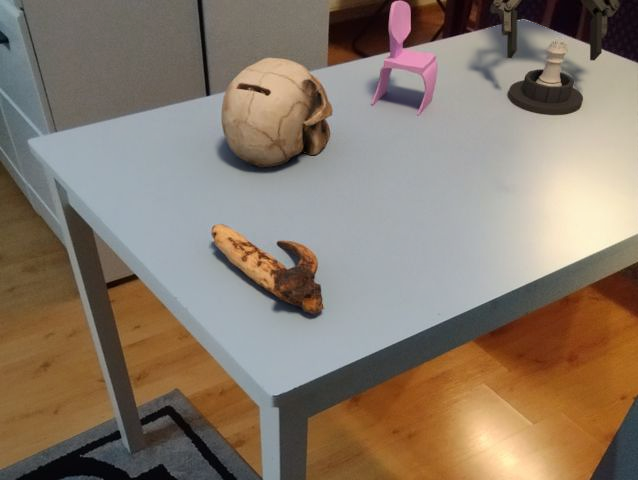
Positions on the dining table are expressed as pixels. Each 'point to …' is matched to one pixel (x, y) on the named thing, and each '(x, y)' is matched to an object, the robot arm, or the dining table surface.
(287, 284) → the lashed bone hook
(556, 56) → the rook chess piece
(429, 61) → the toy chair
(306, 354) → the dining table surface
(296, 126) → the coin bank
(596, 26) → the robot arm
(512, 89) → the socket pad
